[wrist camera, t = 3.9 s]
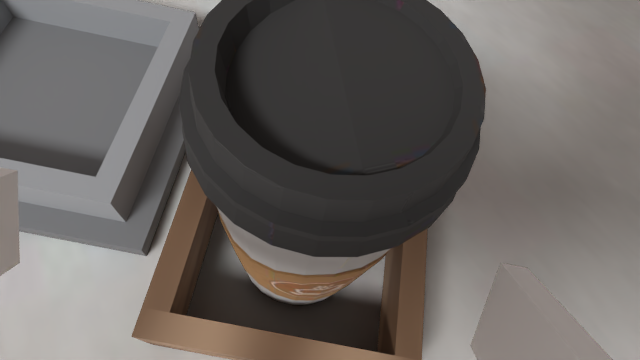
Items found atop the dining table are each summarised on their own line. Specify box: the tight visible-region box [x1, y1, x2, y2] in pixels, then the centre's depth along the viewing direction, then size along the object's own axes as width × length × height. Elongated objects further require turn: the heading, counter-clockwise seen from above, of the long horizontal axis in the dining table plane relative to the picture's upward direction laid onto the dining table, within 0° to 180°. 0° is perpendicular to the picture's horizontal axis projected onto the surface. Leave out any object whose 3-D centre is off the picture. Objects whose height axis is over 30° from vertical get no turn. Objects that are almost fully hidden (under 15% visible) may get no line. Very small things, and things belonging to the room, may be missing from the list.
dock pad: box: [0, 0, 200, 256], centre depth 24 cm, size 16×16×4 cm
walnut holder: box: [132, 169, 427, 360], centre depth 22 cm, size 12×12×4 cm
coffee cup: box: [179, 0, 486, 305], centre depth 17 cm, size 8×8×15 cm
